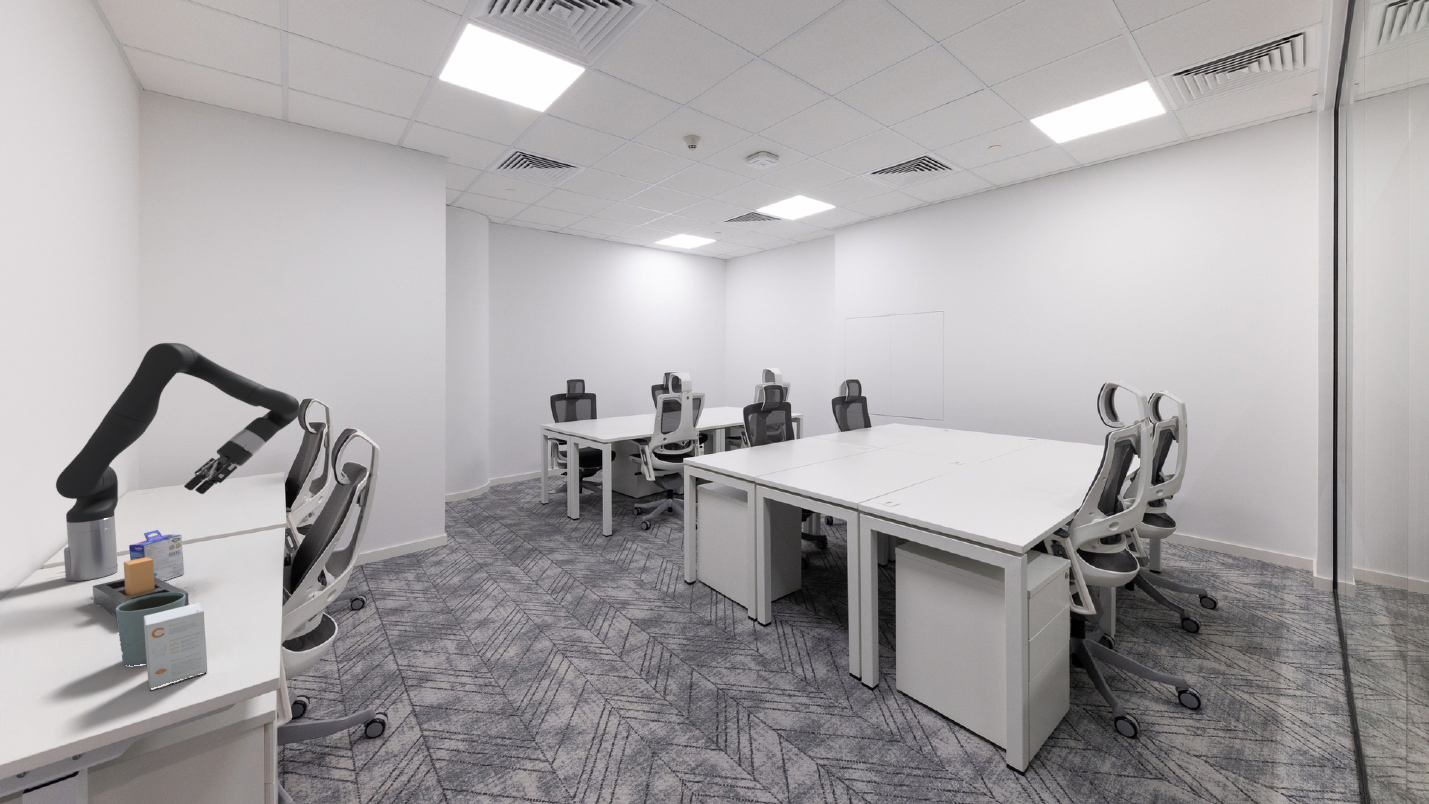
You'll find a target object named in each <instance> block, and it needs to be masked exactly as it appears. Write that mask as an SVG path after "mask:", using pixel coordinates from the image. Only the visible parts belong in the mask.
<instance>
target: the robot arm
mask: <svg viewBox="0 0 1429 804" xmlns="http://www.w3.org/2000/svg"><path fill="white" fill-rule="evenodd" d="M176 374H184V375H188V376H191V377H193V378H197V379H200V380H202V381H204V382H206V383H208V384H211V386H213V387H215V388H217V389H218V390H219V391H222V392H223V393H224V394H226V395H227V396H229V397H231V398H234V399H236V400H239V401H240V402H243V403H245V404H248V405H250V406H253V407H257V408H258V407H262V408H264V409H266V410H269V411H268V412H267V413H266V414H264V415H263V416H259V417H256V418H254V419H253V420H252V421H251V422H249V424H247V425H246V426H245V427H244V428H243V429H241V430H240V431H238V432H237V433H235V434H234V435H233V436H232V437H231V438H230V439H229V440H226V442H225V443H224V444H223V445H222V446H221V447H219V448H218V449H217V450H216V453H217V455H219V457H218V458H217V459H215V458H214V457H212V458H209V460H207V461H206V462H205V463H204V464H202V466H200V467H199V468H198V469H197V470H195V471H194V472H193V473H194V476H193V478H191V479H190V480H189V481H188V482H186V483H185V484H184V486H183V487H184V488H185V489H187V490H188V491H193V490H194V489H195V490H194V491H195V492H197V493H199V494H200V495H204V494H205V493H206V492H208V491H209V490H210V489H211V488H212V487H213V486H214V485H217V484H218V483H219V484H222V483H223V482H224V481H226V479H227V478H228V477H229V476H230V475H231V474H232V473H233V472H235V470H237V469H238V467H242V466H243V465H244V464H246V463H247V462H248V461H249V460H250V459H251V458H252V457H253V456H254V455H256V454H257V452H259V451H260V450H261V449H262V448H263V447H264V445H265V444H266V443H267V442H269V441H270V440H271V439H272V438H273V437H274V436H275V435H276V434H277V433H278V432H280V431H281V430H283V429H284V428H285V427H287V426H289V425H290V424H292V422H293V421H295V420H296V419H297V418H298V416H299V415H300V413H301V406H300V402H299V400H298V399H297V398H295V397H294V396H293V395H290V394H289V393H286V392H283V391H280V390H278V389H274V388H269V387H267V386H264V385H263V384H261V383H259V382H256V381H254V380H252V379H250V378H247V377H245V376H243V375H241V374H239V373H236V372H234V371H232V370H229V368H228V369H227V368H225V367H224V366H222V365H220V364H218V363H216V362H214V361H213V360H211V359H210V358H208V357H206V356H205V355H203V354H201V353H200V352H198V351H196V350H195V349H193V348H192V347H190V346H189V345H186V344H184V343H180V342H179V343H178V342H161V343H158V344H154V345H152V346H151V347H150V348H149V349H148V350H147V351H146V353H145V354H144V356H143V358H142V360H141V362H140V365H138V368H137V370H136V371H135V373H134V376H133V377H132V379H131V380H130V382H129V383H128V385H127V386H126V387H125V388H124V390H123V391H122V392H121V394H120V395H119V396H118V398H117V399H116V400H115V402H114V403H113V404H112V406H111V408H109V410H108V411H107V413H106V414H105V416H104V417H103V419H102V420H101V421H100V423H99V424H98V427H97V428H96V429H95V431H94V432H93V433H92V435H91V436H90V437H89V439H88V441H87V442H86V443H85V445H84V446H83V448H82V449H81V450H80V452H79V453H78V454H77V455H76V456H75V457H74V458H73V459H72V460H71V462H70V463H69V464H68V465H67V466H66V467H65V468H64V469H63V470H61V471H62V472H61V473H60V474H59V475H58V476H57V479H56V482H55V488H56V492H57V493H58V495H60V496H61V497H64V498H65V499H70V500H71V499H72V500H75V503H74V505H73V506H72V507H71V508H70V509H69V510H67V512H66V516H65V519H66V534H67V546H66V547H65V548H64V549H63V559H64V560H63V561H64V573H65V581H66V582H67V581H73V582H74V581H75V582H78V581H81V582H83V581H89V580H95V579H99V578H103V577H108V576H110V575H113V574H115V573H118V572H119V571H118V570H119V569H118V568H119V567H118V565H119V563H118V549H117V533H116V531H117V530H116V517H115V510H116V508H117V506H118V500H119V496H118V494H119V480H118V476H117V473H116V471H115V469H114V468H113V467H111V466H110V464H111V463H112V462H113V460H115V458H117V457H118V456H119V455H120V454H121V453H122V452H123V451H125V450H126V449H128V448H129V447H130V446H131V445H133V444H134V443H135V442H136V441H138V439H140V437H142V435H144V433H145V432H146V431H147V429H148V428H149V426H150V424H152V422H153V420H155V419H154V418H155V417H156V415H157V413H158V409H159V407H160V406H159V404H160V399H161V395H162V393H163V391H164V389H165V388H166V386H167V385H168V384H169V383H170V381H171V380H172V379H173V378H174V377H175V375H176Z"/></svg>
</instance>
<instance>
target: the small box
mask: <svg viewBox="0 0 1429 804" xmlns="http://www.w3.org/2000/svg"><path fill="white" fill-rule="evenodd" d="M205 626H206V624H205V611H204V610H203V608H202V605H201V603H200V602H196V603H192V604H189V605H187V606H183V607H179V608H175V609H171V610H167V611H163V612H158V613H154V614H150V615H146V616H144V631H145V645H146V660H147V665H146V668H147V669H146V670H147V671H146V672H147V682H148V686H149V687H150V688H149V690H150V689H151V688H154V687H158V686H161V685H163V684H166V683H170V682H174V681H177V680H180V679H185V678H189V677H190V676H195V675H198V674H200V673H205V672H207V673H208V658H207V657H208V656H207V641H206V638H207V637H206V627H205Z"/></svg>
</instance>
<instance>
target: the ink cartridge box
mask: <svg viewBox="0 0 1429 804" xmlns="http://www.w3.org/2000/svg"><path fill="white" fill-rule="evenodd" d="M152 534H155V535H152ZM156 534H157V535H156ZM143 535H144V537H145V540H144V541H140V542H136V543H133V544H128V545H129V546H128V549H129V550H128V551H129V557H130V560H129V561H131V560H135V559H140V558H145V557H148V558H150V559H153V567H154V577H156V578H158V579H160V580H162V581H164V580H166V581H169V580H171V578H172V579H174V577H175V578H177V577H180V576H183V575H185V565H184V553H183V552H184V551H183V540H182V538H183V537H182V534H164V535H162V533H161V532H160V531H159V529H155V530H152V531H148V532H144V533H143ZM150 535H152V536H150ZM164 582H165V581H164Z"/></svg>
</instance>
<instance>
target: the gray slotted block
mask: <svg viewBox="0 0 1429 804" xmlns="http://www.w3.org/2000/svg"><path fill="white" fill-rule="evenodd" d="M154 584H155V589H152V590H149V591H145V592H141V593H137V594H133V595H129V596H126V594H125V577H124V578H120V579H116V580H112V581H108V582H103V583H100V584H99V583H98V584H95V585H92V597H93V598H92V599H93V603H94V604H95V605H97V606H98V607H99V608H102V609H103V610H105V611H106V612H108V613H110V614H111V615H113V616H114V615H115V616H114V617H116V618H117V616H116V610H115V609H116V608H117V607H118V606H119V605H121V604H122V603H125V602H127V601H130V600H133V599H136V598H140V597H143V596H148V595H153V594H159V593H167V592H181V593H184V594H185V595H186V597H185V606H187V605H190V603H189V593H188V592H187V591H185V590H183V589H181V588H179V587H176V585H175V586H174V585H172V584H170V583H168V582H166V581H162V580H160V579H158V578H156V577H154Z"/></svg>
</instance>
